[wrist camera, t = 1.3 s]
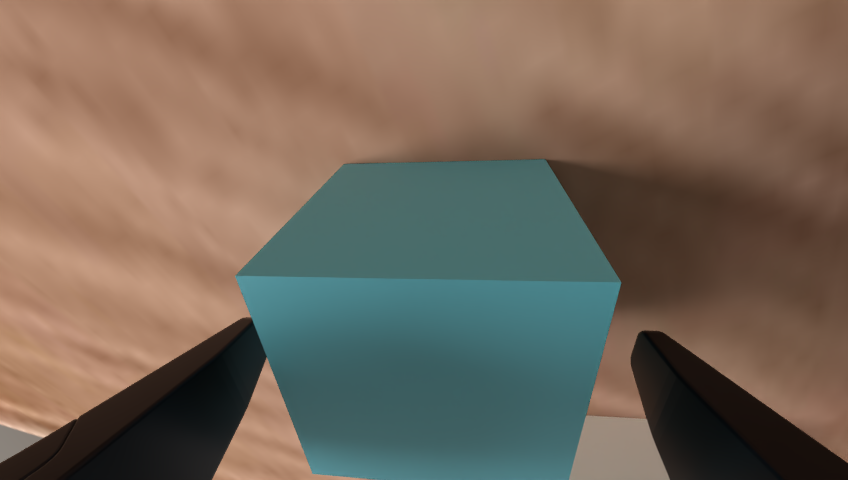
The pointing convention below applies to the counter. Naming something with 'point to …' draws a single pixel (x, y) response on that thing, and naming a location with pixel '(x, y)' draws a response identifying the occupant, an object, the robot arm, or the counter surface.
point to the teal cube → (435, 321)
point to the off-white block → (617, 451)
